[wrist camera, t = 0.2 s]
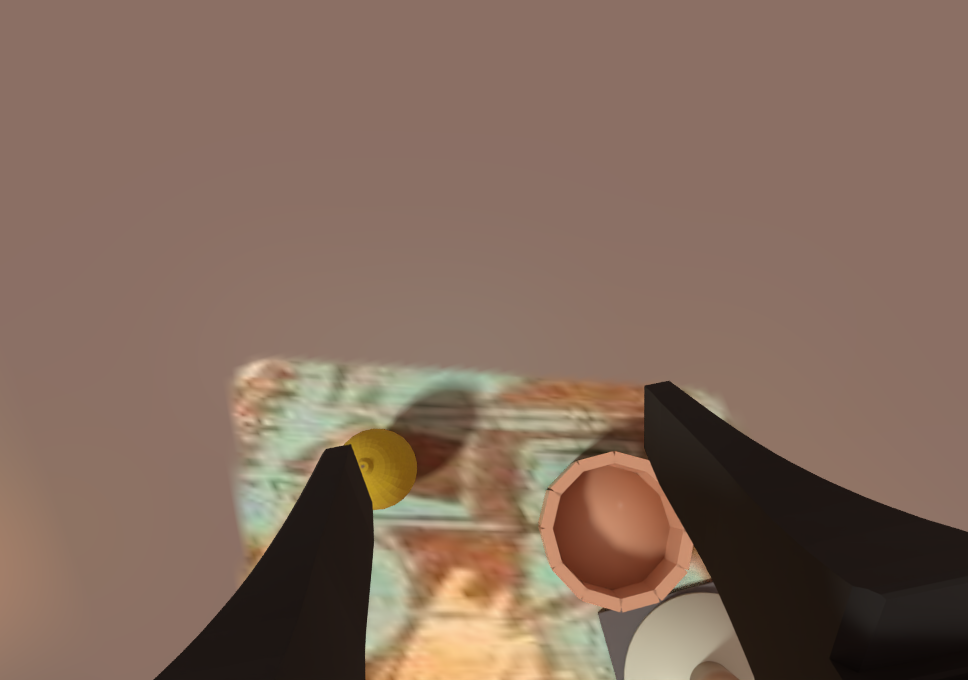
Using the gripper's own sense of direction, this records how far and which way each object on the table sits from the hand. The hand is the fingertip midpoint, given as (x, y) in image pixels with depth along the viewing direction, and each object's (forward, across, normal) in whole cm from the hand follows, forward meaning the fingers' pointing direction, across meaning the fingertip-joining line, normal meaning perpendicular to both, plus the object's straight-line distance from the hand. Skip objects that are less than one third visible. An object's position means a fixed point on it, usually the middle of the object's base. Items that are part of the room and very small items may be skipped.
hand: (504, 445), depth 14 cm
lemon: (+23, +8, +22) cm, 33 cm away
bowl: (+17, -7, +26) cm, 32 cm away
